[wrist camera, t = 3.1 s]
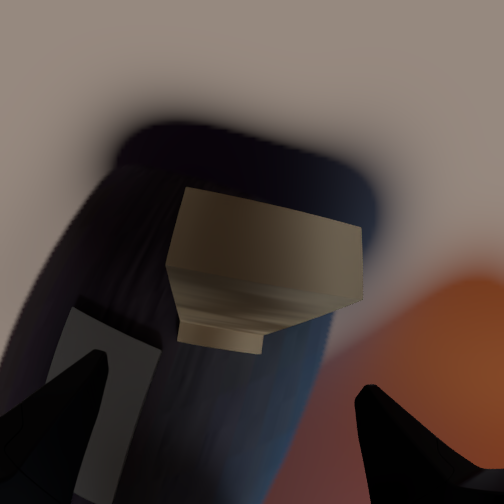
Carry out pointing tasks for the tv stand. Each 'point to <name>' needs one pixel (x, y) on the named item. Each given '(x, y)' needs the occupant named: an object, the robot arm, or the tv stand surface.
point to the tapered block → (256, 269)
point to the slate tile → (107, 398)
